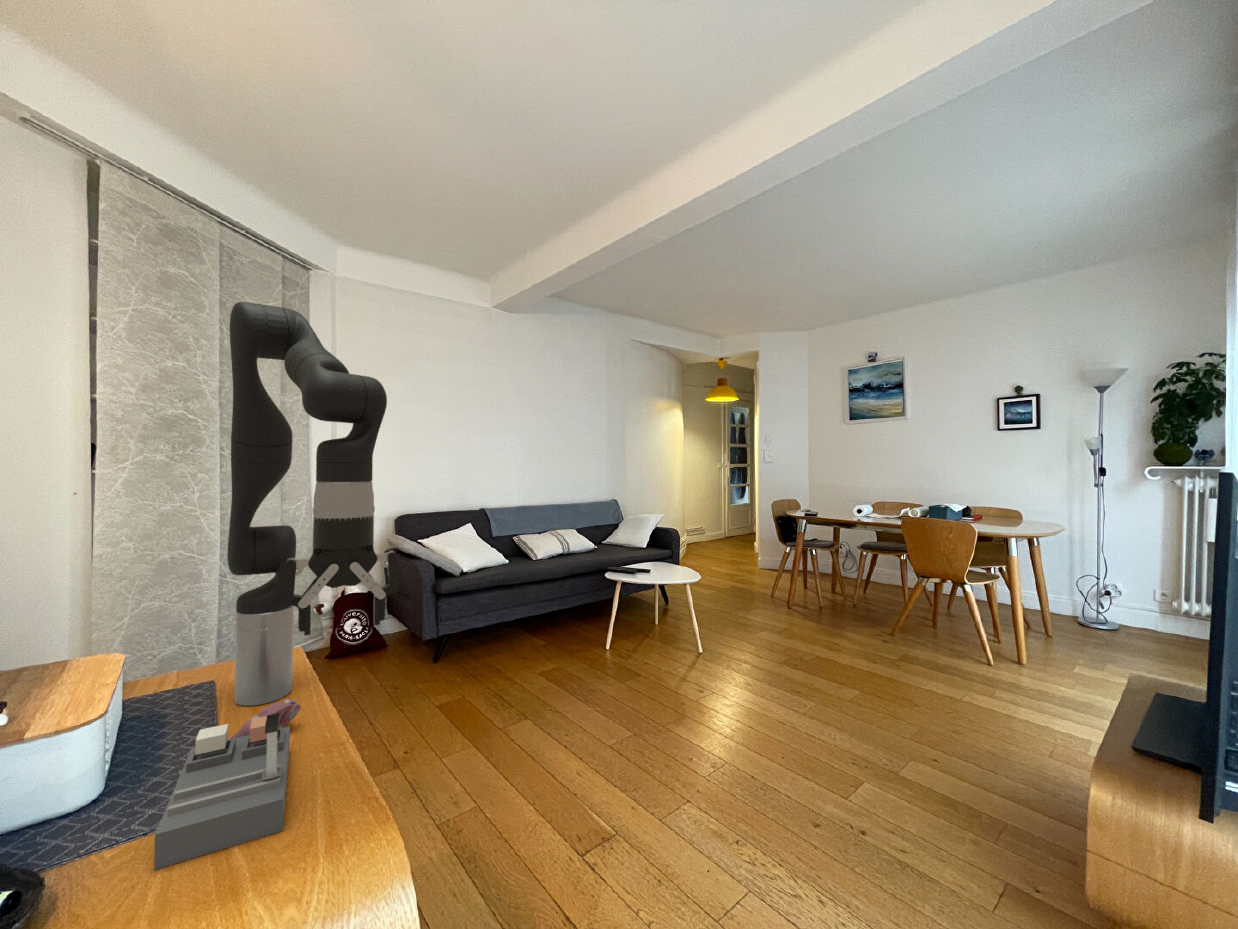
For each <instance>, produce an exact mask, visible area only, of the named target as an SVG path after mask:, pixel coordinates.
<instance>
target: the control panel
mask: <svg viewBox="0 0 1238 929" xmlns="http://www.w3.org/2000/svg"><path fill="white" fill-rule="evenodd" d="M290 729H291V726H290V725H288V726H285V727H283V728H278V735H277V767H280V766H281V779H280V778H277V779H273V780H269V781H265V782H262V774H263V771H264V770H266V759H267V739H265V740H260V741H256V742H251V743H250V735H246V736H242V737H238V738H232V739H229V738H228V740H227V743H226V746H225V749H220V750H216V751H211V752H207V753H202V754H198V755H195V746H192V747H191V748H190V751H189V754H188V756H187V758H186V761H185V763H184V765H183V767H182V769H181V772H180V774H179V777H178V779H177V781H176V784H175V786H174V789H173V792H172V793H171V796H170V798H169V800H168V803H167V805H166V807H165V810H164V812H163V814H162V817H161V819H160V822H159V824H158V826H157V828H156V830H155V833H154V860H153V863H154V866H153V869H154V871H155V870H159V869H162V868H166V867H169V866H173V865H177V864H178V863H182V862H185V861H188V860H192V859H195V858H200V857H201V856H202V857H203V856H205V855H209V854H211V853H214V852H218V851H221V850H225V849H228V848H230V847H231V848H232V847H235V846H238V845H241V844H244V843H247V842H250V841H251V842H252V841H254V840H258V839H260V838H263V837H264V838H265V837H267V836H270V835H271V836H272V835H274V834H277V833H280V832H283V831H284V821H285V820H284V818H285V810H286V809H285V808H286V806H285V805H286V797H287V796H286V794H287V784H288V782H287V781H288V772H289V761H288V760H290V734H291V733H290V732H291V730H290Z"/></svg>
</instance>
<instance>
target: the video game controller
mask: <svg viewBox="0 0 1238 929" xmlns="http://www.w3.org/2000/svg"><path fill="white" fill-rule="evenodd" d="M301 708H302V706H301V704H299V703H297V702H296V701H294V700H290V699H289V698H286V699H285V700H283V701H281V702H274V703H272V704H269V705H267V706H266V707H264V708H263V709H262V710H261V711H260V712H259V713H257V714H256V715H253V716H252V717H251V719H249V720H248V721H247V722H246V723H245V724H244V725H243V726H242V727H241V728H240V729H239V730H238V731H236V732H235V733H234V734H233V735H232V736H230V737H228V739H232V738H238V737H242V736H246V735H250V726H251V722H252V719H255V718H260V717H265V716H267V715H272V714H277V713H280V721H279V728H283V727H287V725H288V724H289V723H290V722H291V721H292V720H293V719H294V718H295V717H296V716H297V715H298V713H299V712H300V711H301Z"/></svg>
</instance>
